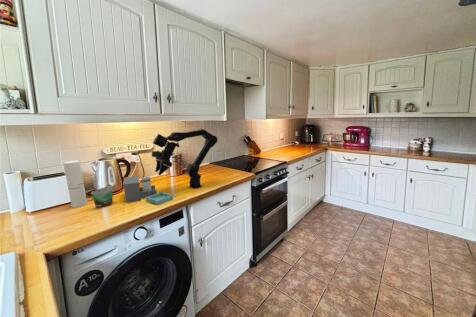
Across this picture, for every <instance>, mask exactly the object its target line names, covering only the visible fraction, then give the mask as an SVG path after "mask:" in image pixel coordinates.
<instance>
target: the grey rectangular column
mask: <svg viewBox="0 0 476 317" xmlns="http://www.w3.org/2000/svg"><path fill="white" fill-rule="evenodd" d="M62 165H63V167H64V168H63V169H64V174H65V179H66V183H67V188H68V195H69V199H70V206H71V208H81V207H84V206H86V205H87V204H88V201H87V196H86V195H87V194H86V190H85V189H86V188H85V183H84V178H83V177H84V176H83V172H82V167H81V161H80V160H68V161H64V162H63V164H62Z"/></svg>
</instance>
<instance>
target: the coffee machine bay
mask: <svg viewBox="0 0 476 317" xmlns="http://www.w3.org/2000/svg"><path fill="white" fill-rule="evenodd" d="M151 189H152V190H148V191H143V190H142V187H140V179H139V175H133V176H126V177H124V178H123V191H124V197H125V198H124V199H125V203H127V204H128V203H133V202H140V201H142V199H146V197H149V196H152V195H154V194H157V193H158V192H157V189H156V186H155V185H154V184H153V185H152V184H151Z"/></svg>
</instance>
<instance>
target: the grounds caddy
mask: <svg viewBox="0 0 476 317" xmlns="http://www.w3.org/2000/svg"><path fill="white" fill-rule="evenodd" d="M140 181H141V186H142V190H143V191H148V190H152V189H151V186H152V182H151V177H150V176H145V177H144V176H142V177H140Z"/></svg>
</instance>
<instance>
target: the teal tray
mask: <svg viewBox="0 0 476 317" xmlns="http://www.w3.org/2000/svg"><path fill="white" fill-rule="evenodd" d="M145 200H146V203H149V204H151V205H152V204H153V205H154V206H160V205H162V204H165V203H168V202H169V201H172V200H174V195H173V194H170V193H168V192H163V191H161V192H157V194H154V195H152V196H149V197H146V198H145Z"/></svg>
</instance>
